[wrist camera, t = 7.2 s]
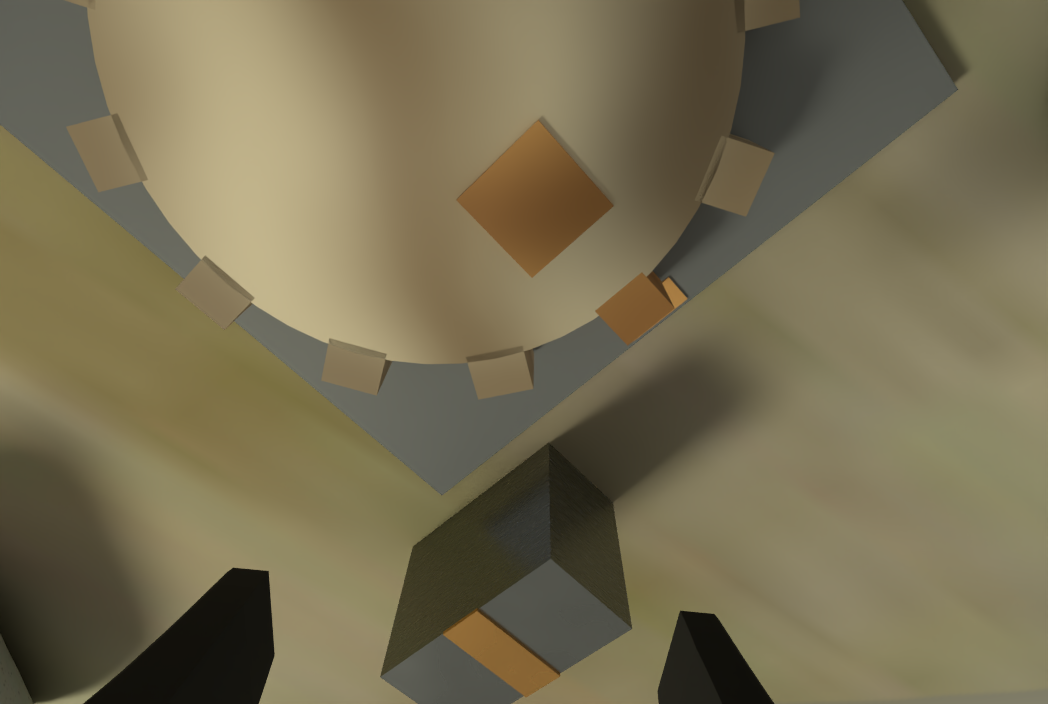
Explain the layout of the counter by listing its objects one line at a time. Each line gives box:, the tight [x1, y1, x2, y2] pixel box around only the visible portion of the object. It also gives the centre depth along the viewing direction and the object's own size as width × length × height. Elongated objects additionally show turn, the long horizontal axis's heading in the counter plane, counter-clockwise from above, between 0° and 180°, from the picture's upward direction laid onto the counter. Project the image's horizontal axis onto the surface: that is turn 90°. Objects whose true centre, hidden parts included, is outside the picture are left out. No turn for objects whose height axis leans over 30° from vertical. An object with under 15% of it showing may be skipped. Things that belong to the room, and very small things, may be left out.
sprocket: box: [65, 0, 800, 400], centre depth 13 cm, size 15×15×6 cm
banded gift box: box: [380, 443, 632, 704], centre depth 19 cm, size 3×6×5 cm, turn 133°
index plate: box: [0, 0, 958, 495], centre depth 16 cm, size 17×17×1 cm
